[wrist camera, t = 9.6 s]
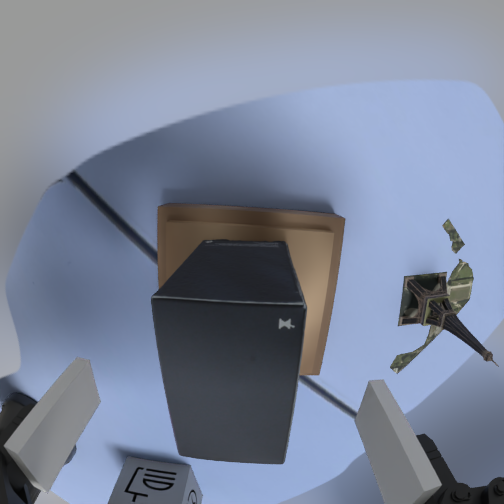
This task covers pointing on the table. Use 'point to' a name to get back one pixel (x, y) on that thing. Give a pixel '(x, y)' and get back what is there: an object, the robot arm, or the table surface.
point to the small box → (231, 350)
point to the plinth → (268, 229)
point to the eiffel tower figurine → (438, 304)
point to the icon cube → (155, 483)
